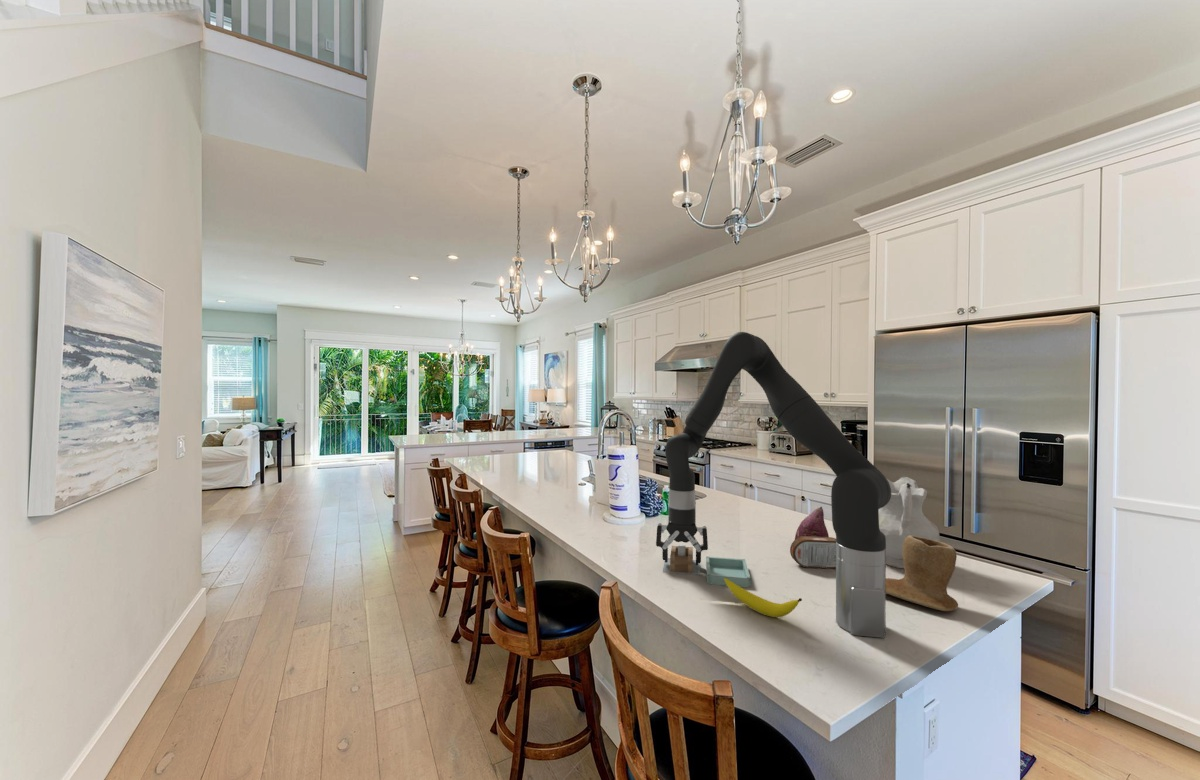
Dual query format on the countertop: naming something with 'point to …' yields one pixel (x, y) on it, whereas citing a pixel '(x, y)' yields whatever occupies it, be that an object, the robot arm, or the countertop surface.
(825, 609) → the countertop surface
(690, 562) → the stepped wooden block
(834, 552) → the tin
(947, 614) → the countertop surface
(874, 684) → the countertop surface
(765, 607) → the banana
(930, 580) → the brown felt boot
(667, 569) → the grey plate with post
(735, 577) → the tray
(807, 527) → the vegetable
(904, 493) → the ceramic pitcher
